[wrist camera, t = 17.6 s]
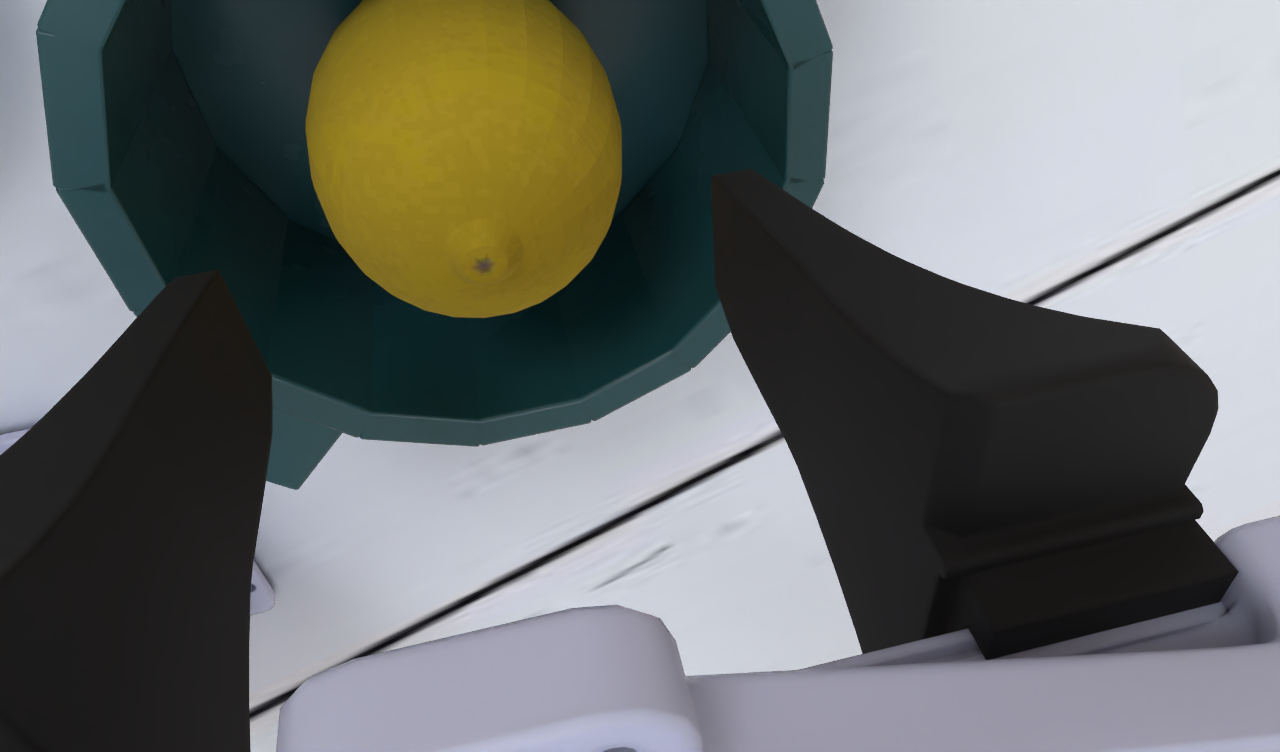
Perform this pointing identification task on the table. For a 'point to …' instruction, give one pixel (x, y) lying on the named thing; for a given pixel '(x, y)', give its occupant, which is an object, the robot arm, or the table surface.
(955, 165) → the table surface
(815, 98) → the pot
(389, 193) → the lemon
